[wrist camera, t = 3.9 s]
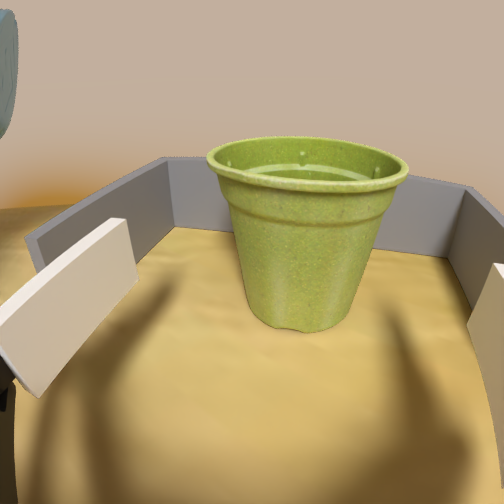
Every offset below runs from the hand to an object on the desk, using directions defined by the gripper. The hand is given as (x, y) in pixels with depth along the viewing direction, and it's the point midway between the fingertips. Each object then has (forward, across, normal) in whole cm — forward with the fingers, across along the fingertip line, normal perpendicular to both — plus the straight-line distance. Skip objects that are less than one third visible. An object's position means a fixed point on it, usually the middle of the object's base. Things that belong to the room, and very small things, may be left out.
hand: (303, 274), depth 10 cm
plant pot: (+6, -1, -6) cm, 9 cm away
